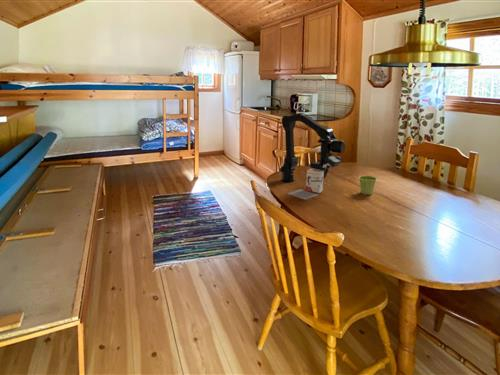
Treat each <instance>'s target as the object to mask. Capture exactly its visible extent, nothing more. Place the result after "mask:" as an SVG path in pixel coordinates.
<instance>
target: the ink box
mask: <svg viewBox="0 0 500 375" xmlns="http://www.w3.org/2000/svg"><path fill="white" fill-rule="evenodd" d="M323 177H324V171H323V170H319V169H314V168H310V169H307V170H306V180H305V181H306V182H305V191H308V192H311V193H316V194H317V193H318V194H320V193H321V192H323V190H324V189H323V186H324V178H323Z"/></svg>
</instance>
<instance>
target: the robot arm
mask: <svg viewBox="0 0 500 375" xmlns="http://www.w3.org/2000/svg"><path fill="white" fill-rule="evenodd" d="M298 121H300V122H301V123H303V124H304V125H306V126H307V127H309V128H310V129H311V130H312V131H314V132H315V133H316V134H317V136H318V137H319V139H318V140H317V141H316V142H317V143H318V144H319V143H320V150H319V152H318V155H319V159H318V160H317V161H318V162H317V161H312V162H311V163H310V165H309V167H310V169H316V170H323V171H324V177H323V179H326V177H327V175H328V173H329V170H330V169H331V168H334V167H338V165H340V164H341V161H342V158H341V157H340V156H339V155H337V156H334V155H333V153H337V154H344V152H346V144H345V141H344V140H342V139H341V140H338V139H337V137H336V134H335V133H334V130H333V128H331V127H329V126H327V125H322V124H320V123H319V122H318V121H316V120H314V119H313V118H312V117H310V116H308V115H307V114H306V113H305V112H297V113H295V114H287V115H284V116H283V117H282V118H281V124H282V125H281V126H282V128H283V130H284V135H285V136H284V137H285V138H284V140H285V157H284V159H283V165H281V167H280V168H279V170H280V172H281V173H282V174H281V178H280V182H281V181H282V182H283V183H291V182H294V181H295V179H294V171H295V170H296V168H297V166H298V164H299V157H298V156H296V155H295V141H294V140H295V138H294V136H295V134H294V130H295V127H296V123H297V122H298Z"/></svg>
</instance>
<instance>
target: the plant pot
mask: <svg viewBox="0 0 500 375" xmlns="http://www.w3.org/2000/svg"><path fill="white" fill-rule="evenodd" d="M358 179H359V184H360V185H359V187H360V194H363V195H373V193H374V188H375V185H376V184H375V183H376V181H377V180H378V178H377V177H375V176H372V175H359V176H358Z"/></svg>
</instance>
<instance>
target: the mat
mask: <svg viewBox="0 0 500 375" xmlns="http://www.w3.org/2000/svg"><path fill="white" fill-rule="evenodd" d="M287 195H289V196H293V197H295V198H298V199H301V200H305V201H306V200H309V199H311V198H314V197H318V196H319V194H317V193H315V192H310V191H306V189H302V188H300V189H298V190H294V191H291V192H288V193H287Z"/></svg>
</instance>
